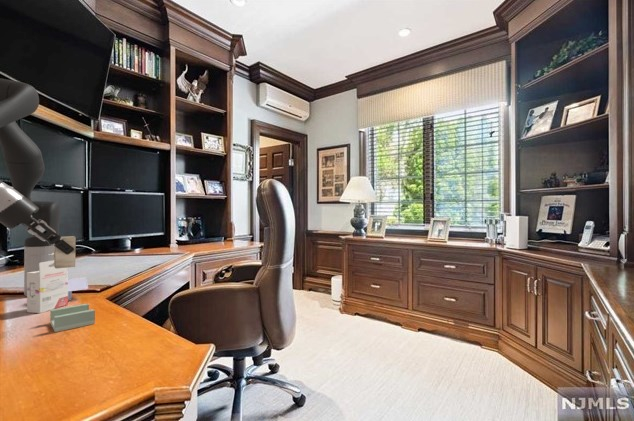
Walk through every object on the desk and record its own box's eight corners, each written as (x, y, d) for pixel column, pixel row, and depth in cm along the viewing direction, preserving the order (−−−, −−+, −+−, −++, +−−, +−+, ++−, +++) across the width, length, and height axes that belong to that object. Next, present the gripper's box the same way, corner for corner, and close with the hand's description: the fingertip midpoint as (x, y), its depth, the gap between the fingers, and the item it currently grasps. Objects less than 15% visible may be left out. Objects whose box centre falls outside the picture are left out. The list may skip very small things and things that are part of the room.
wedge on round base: (83, 293, 111) (35, 301, 102) (83, 275, 112) (35, 280, 102) (88, 298, 105) (36, 306, 96) (88, 278, 105) (37, 285, 96)
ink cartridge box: (55, 304, 99) (56, 257, 99) (68, 305, 98) (68, 258, 98) (25, 312, 90) (25, 262, 90) (39, 313, 89) (39, 262, 89)
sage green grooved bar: (50, 323, 81) (50, 309, 81) (87, 315, 87) (87, 303, 87) (54, 332, 75) (54, 317, 75) (94, 323, 81) (94, 310, 81)
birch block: (54, 266, 83) (54, 237, 83) (72, 265, 86) (73, 236, 86) (55, 268, 80) (56, 237, 80) (75, 266, 83) (75, 236, 83)
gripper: (23, 193, 72) (87, 242, 81) (21, 196, 82) (77, 240, 91) (-10, 216, 68) (60, 265, 77) (-8, 216, 78) (53, 260, 87)
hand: (69, 251), depth 84 cm, fingers closed on birch block, 4 cm apart
